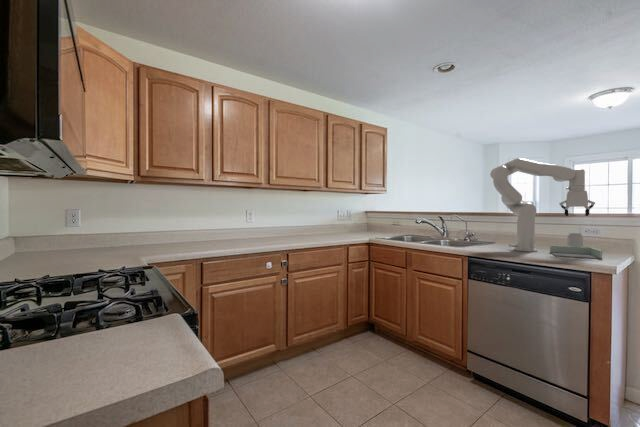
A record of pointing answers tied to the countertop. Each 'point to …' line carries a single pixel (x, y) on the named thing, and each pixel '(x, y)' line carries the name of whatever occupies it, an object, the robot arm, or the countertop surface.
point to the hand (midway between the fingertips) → (576, 216)
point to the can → (575, 240)
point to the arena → (576, 252)
